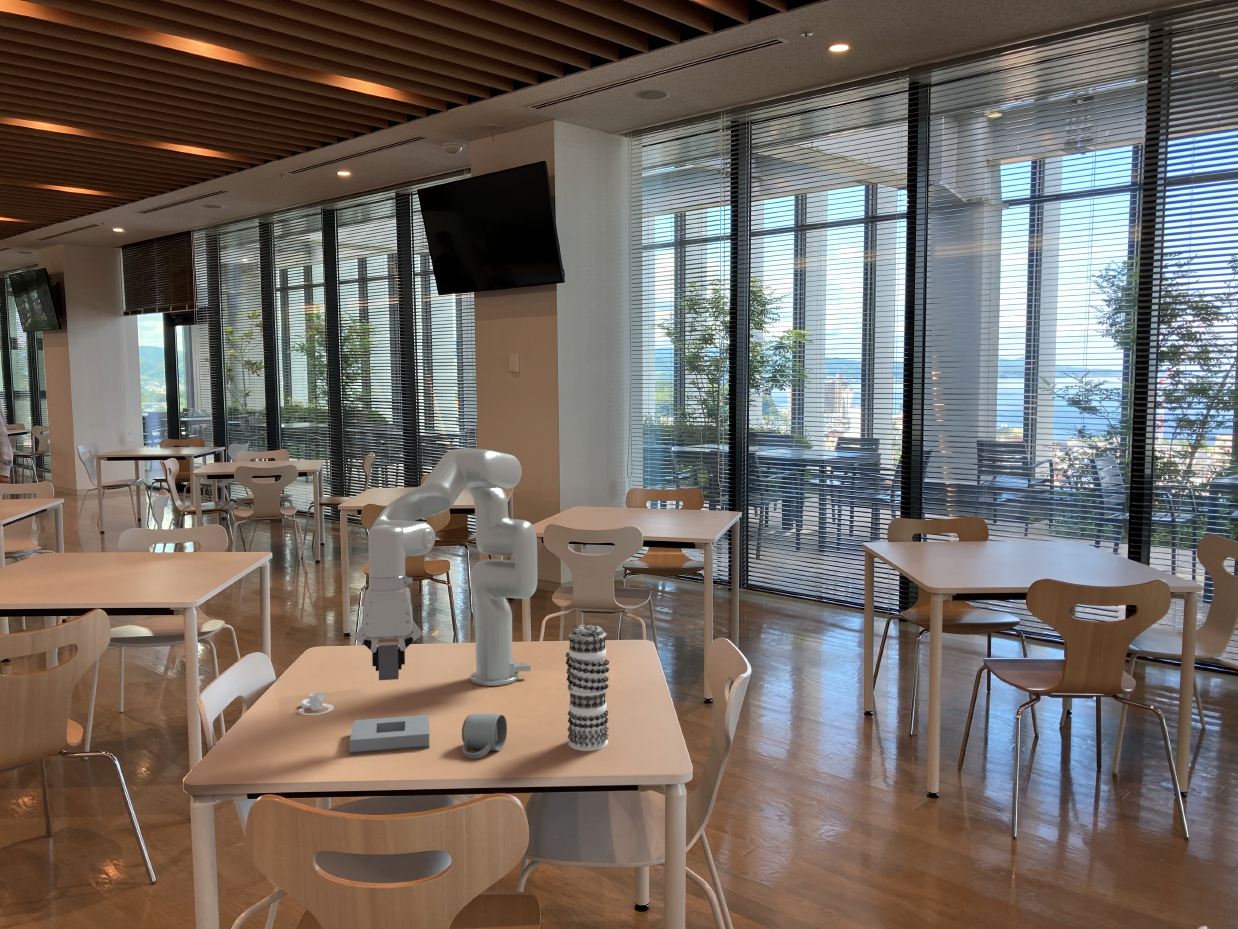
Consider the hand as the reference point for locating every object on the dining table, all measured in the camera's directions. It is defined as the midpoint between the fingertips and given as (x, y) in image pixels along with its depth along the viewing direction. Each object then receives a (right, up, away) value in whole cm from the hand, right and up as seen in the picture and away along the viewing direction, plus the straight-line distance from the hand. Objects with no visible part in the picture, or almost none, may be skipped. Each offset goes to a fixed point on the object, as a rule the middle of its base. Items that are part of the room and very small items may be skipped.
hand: (388, 667), depth 192 cm
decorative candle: (+43, -16, -1) cm, 46 cm away
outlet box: (0, -16, +1) cm, 16 cm away
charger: (0, -2, 0) cm, 2 cm away
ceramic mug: (+21, -16, -4) cm, 27 cm away
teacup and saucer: (-22, -15, +24) cm, 36 cm away
